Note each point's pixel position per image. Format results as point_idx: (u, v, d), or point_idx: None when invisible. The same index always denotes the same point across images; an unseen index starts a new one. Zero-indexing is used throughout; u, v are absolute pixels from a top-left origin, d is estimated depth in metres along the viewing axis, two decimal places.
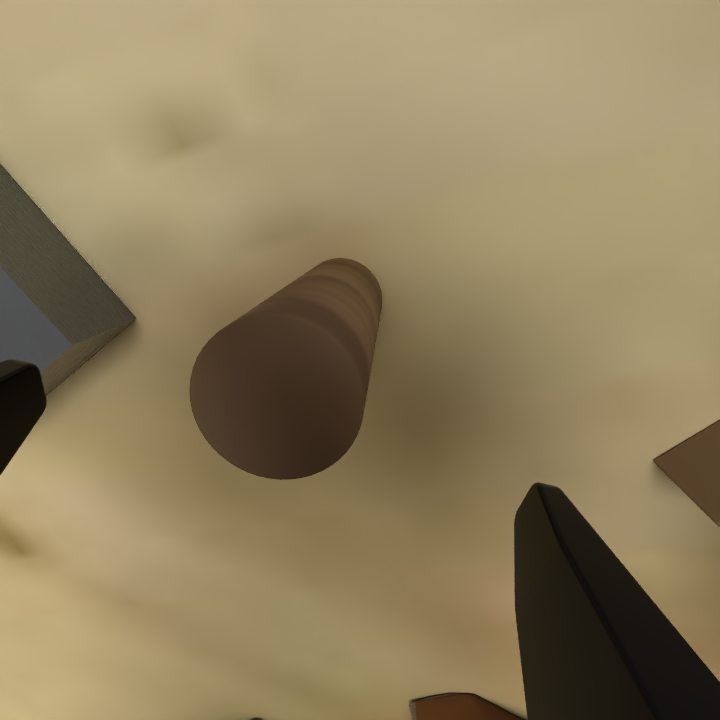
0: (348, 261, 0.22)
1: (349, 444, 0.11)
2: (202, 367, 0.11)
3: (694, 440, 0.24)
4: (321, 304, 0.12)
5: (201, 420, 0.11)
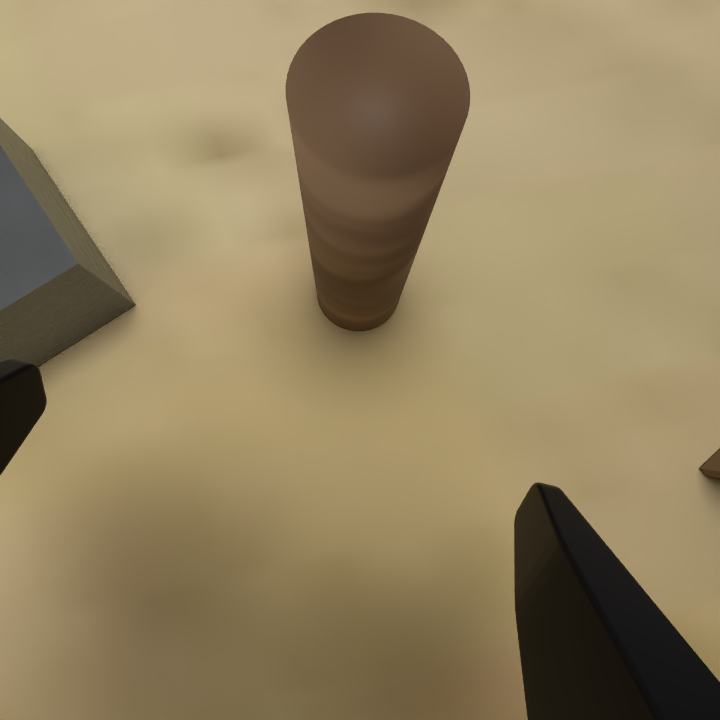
0: None
1: (455, 136, 0.10)
2: (304, 56, 0.10)
3: None
4: None
5: (294, 108, 0.10)
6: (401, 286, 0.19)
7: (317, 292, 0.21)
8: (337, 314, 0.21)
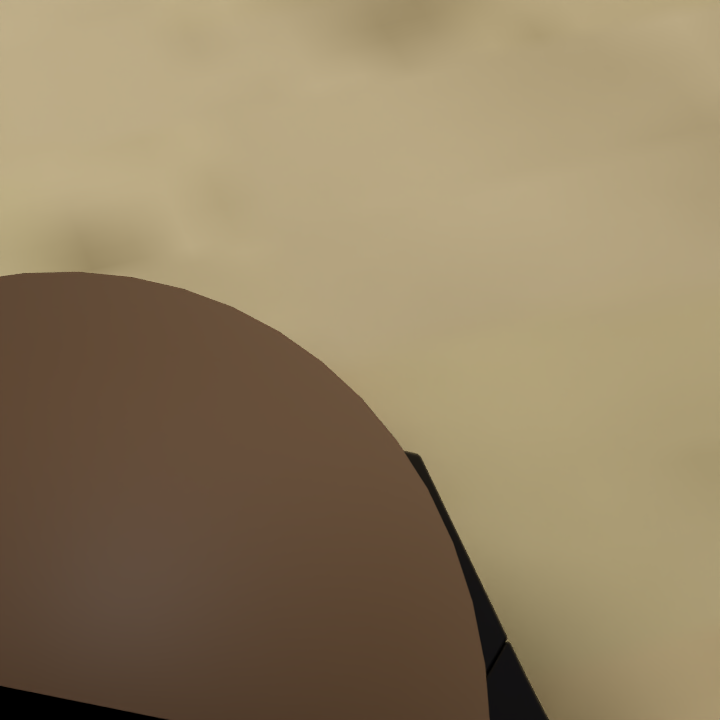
0: None
1: None
2: None
3: None
4: None
5: None
6: None
7: None
8: None
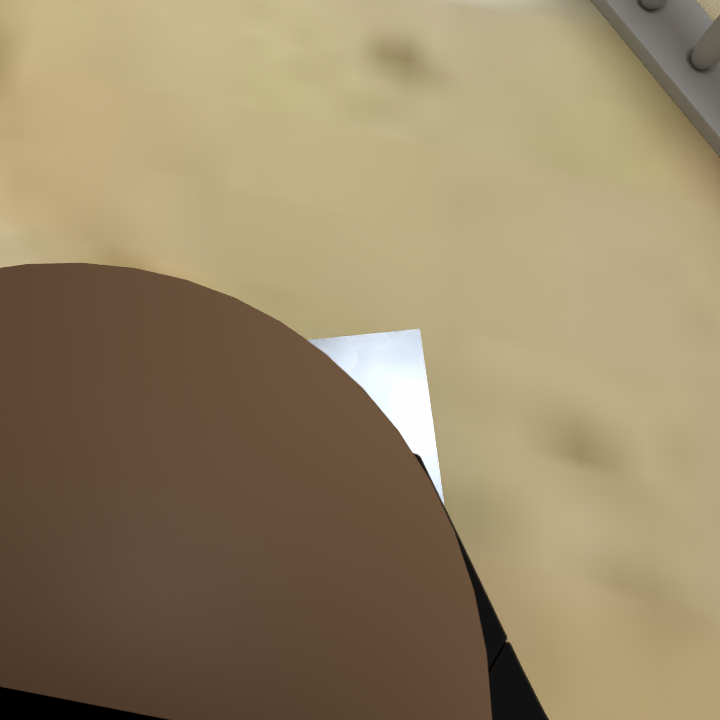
0: None
1: None
2: None
3: None
4: None
5: None
6: None
7: None
8: None
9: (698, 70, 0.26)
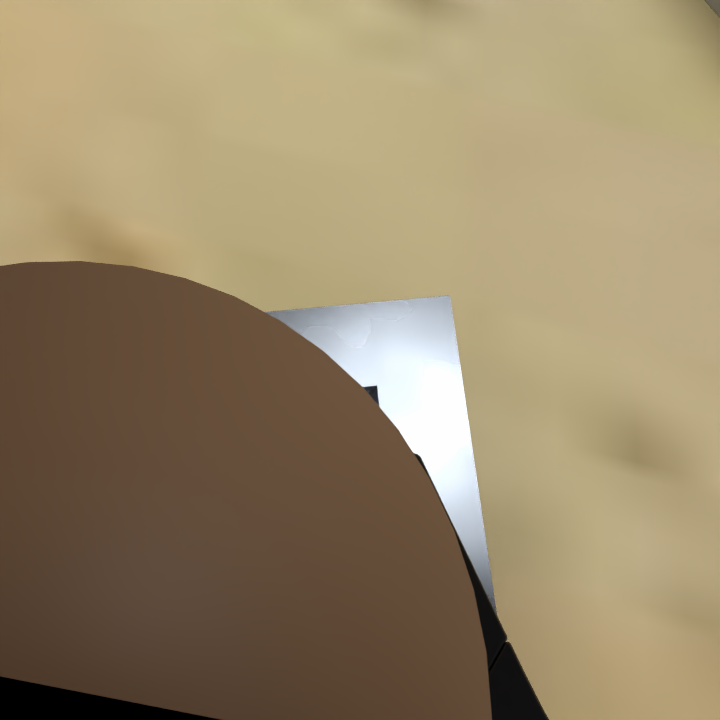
0: None
1: None
2: None
3: None
4: None
5: None
6: None
7: None
8: None
9: None
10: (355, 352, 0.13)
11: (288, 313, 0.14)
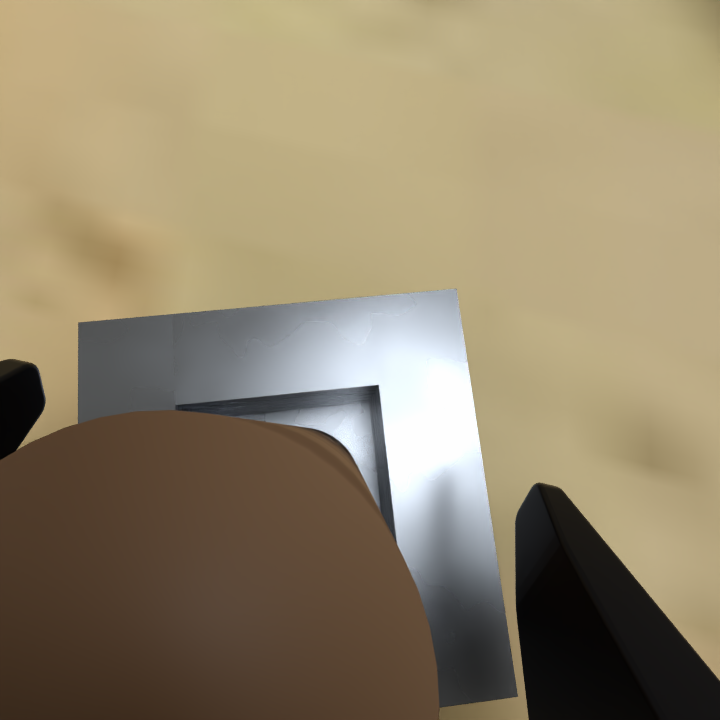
0: None
1: None
2: None
3: None
4: (298, 433, 0.06)
5: None
6: None
7: None
8: None
9: None
10: (355, 348, 0.13)
11: (284, 307, 0.13)
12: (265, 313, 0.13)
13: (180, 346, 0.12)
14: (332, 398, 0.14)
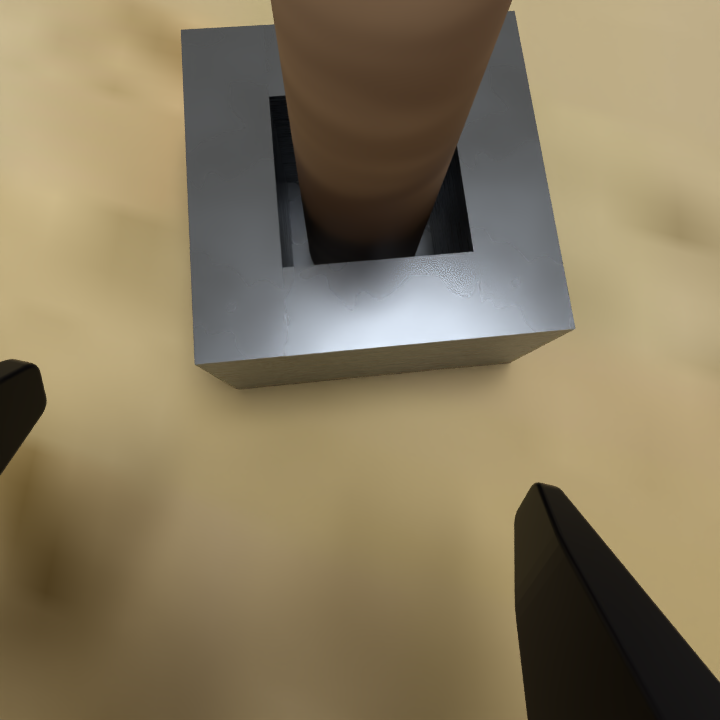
0: None
1: None
2: None
3: None
4: None
5: None
6: (424, 221, 0.14)
7: (308, 237, 0.16)
8: None
9: None
10: None
11: None
12: None
13: (271, 50, 0.14)
14: None
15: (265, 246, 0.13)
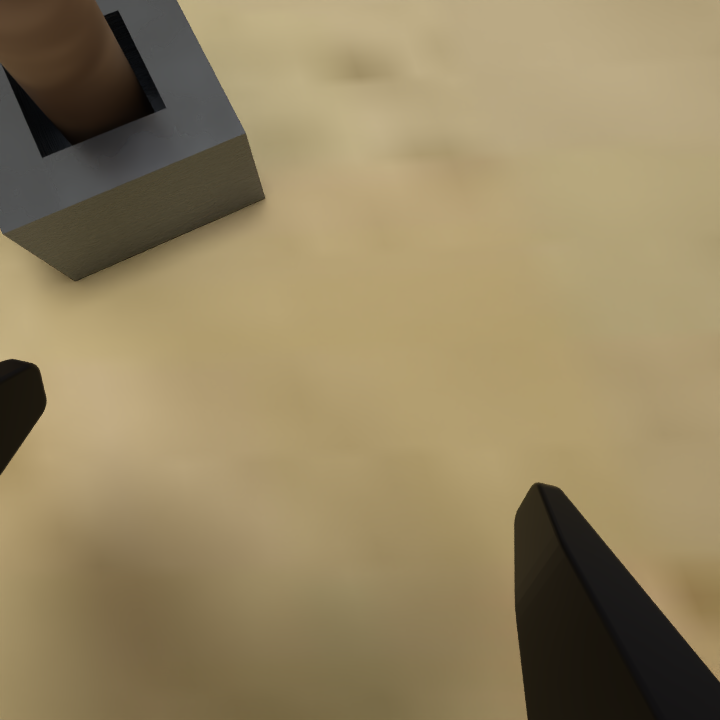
0: None
1: None
2: None
3: None
4: None
5: None
6: (133, 103, 0.20)
7: None
8: None
9: None
10: None
11: None
12: None
13: None
14: None
15: (26, 148, 0.19)
